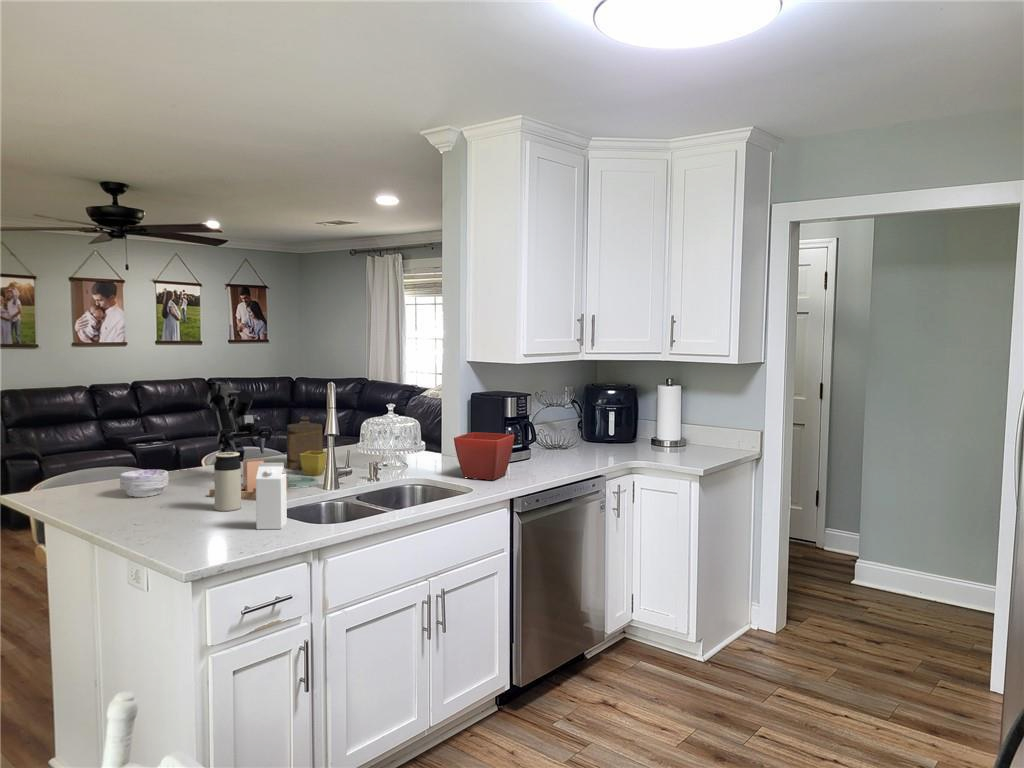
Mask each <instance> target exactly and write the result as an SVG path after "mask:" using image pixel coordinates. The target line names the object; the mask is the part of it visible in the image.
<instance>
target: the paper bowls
mask: <svg viewBox="0 0 1024 768" xmlns="http://www.w3.org/2000/svg"><path fill="white" fill-rule="evenodd" d="M167 486H169V471H168V470H165V469H139V470H130V471H125V472H122V473H120V474H119V488H120V489H122V490H124V491H125V492H126V493H127V495H128V496H130V497H132V496H134V497H133V498H148V497H147V496H150V497H155V496H158V495H159V494H161V493H162V491H163V490H164V488H165V487H167ZM157 494H158V495H157ZM154 495H155V496H154Z"/></svg>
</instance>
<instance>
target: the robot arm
mask: <svg viewBox="0 0 1024 768" xmlns="http://www.w3.org/2000/svg"><path fill="white" fill-rule="evenodd" d="M253 400H254V395H253V394H252V393H250V392H249V391H247V389H246V388H242V389H241V388H240V389H239V390H236V389H235V388H234V387H232V384H231V383H229V382H218V383H216V384H215V387H213V388H211V389H210V390H209V391H208V393H207V404H209V406H210V410H211V411H212V412H214V413H215V414H216V417H217V421H218V426H219V430H218V434H217V437H216V442H217V444H218V445H220V447H219V450H218V453H222V452H238V453H240V455H239V458H238V459H239V461H240V463H241V462H242V463H243V460H245V458H244V457H245V450H246V449H244V446H242V445H243V444H242V442H241V439H248V438H257V442H258V446H259V450H260V453H261V454H263V453H264V449H265V444H266V443H267V442H268V441H270V440H271V437H272V434H273V431H274V430H273V429H272V427H271V426H261V427H260V426H259V429H258V431H253V430H254V429H255V424H259V423H260V421H261V418H260V414H259V413H253V414H249V412H248V411H249V410H250V408H251V406H252V404H253ZM229 408H231V409H230V412H229ZM230 414H231V415H230ZM231 418H232V419H231ZM232 423H233V424H232ZM234 431H235V432H234ZM241 476H242V477H243V474H241Z"/></svg>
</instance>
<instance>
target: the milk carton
mask: <svg viewBox="0 0 1024 768" xmlns="http://www.w3.org/2000/svg"><path fill="white" fill-rule="evenodd" d="M284 466H285V463H284V462H264V463H259V468H258V472H257V476H256V500H255V505H256V506H255V509H256V510H255V512H256V514H255V515H256V516H255V518H256V521H255V523H256V524H255V525H256V528H255V529H256V530H281V529H283V528H284V527H285V525H286V524H287V523H288V522H287V519H288V517H287V509H288V508H287V501H288V500H287V489H286V477H287V472H286V469H285V467H284Z"/></svg>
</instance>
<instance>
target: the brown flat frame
mask: <svg viewBox="0 0 1024 768" xmlns="http://www.w3.org/2000/svg"><path fill="white" fill-rule="evenodd" d="M289 478H290V477H289V476H286V488H288V487H289ZM241 488H243V482H241ZM288 489H289V488H288ZM208 494H209V495H208V496H209V497H210V498H215V488H210V489H209V493H208ZM241 500H246V501H247V500H249V501H256V488H253V492H247V491H241Z"/></svg>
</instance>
